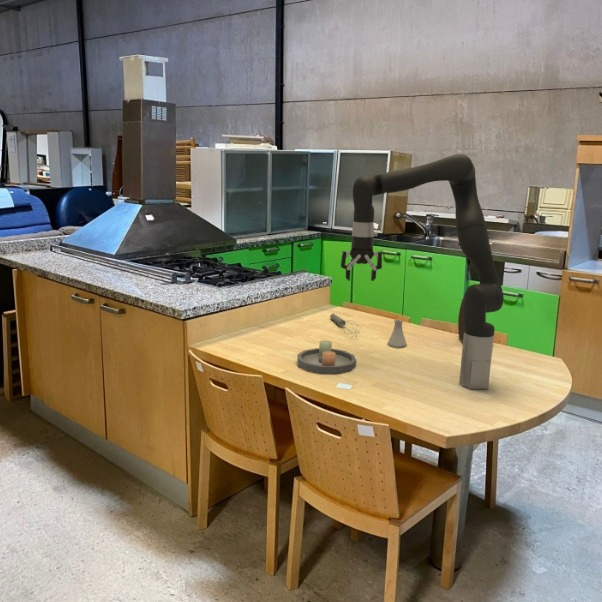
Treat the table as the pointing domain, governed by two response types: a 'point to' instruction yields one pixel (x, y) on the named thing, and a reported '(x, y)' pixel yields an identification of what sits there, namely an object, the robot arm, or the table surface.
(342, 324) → the kitchen whisk
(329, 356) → the terracotta bead
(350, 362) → the ring tray
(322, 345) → the pale green rounded cylinder
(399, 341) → the flask
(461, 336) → the small grey backpack
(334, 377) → the table surface
